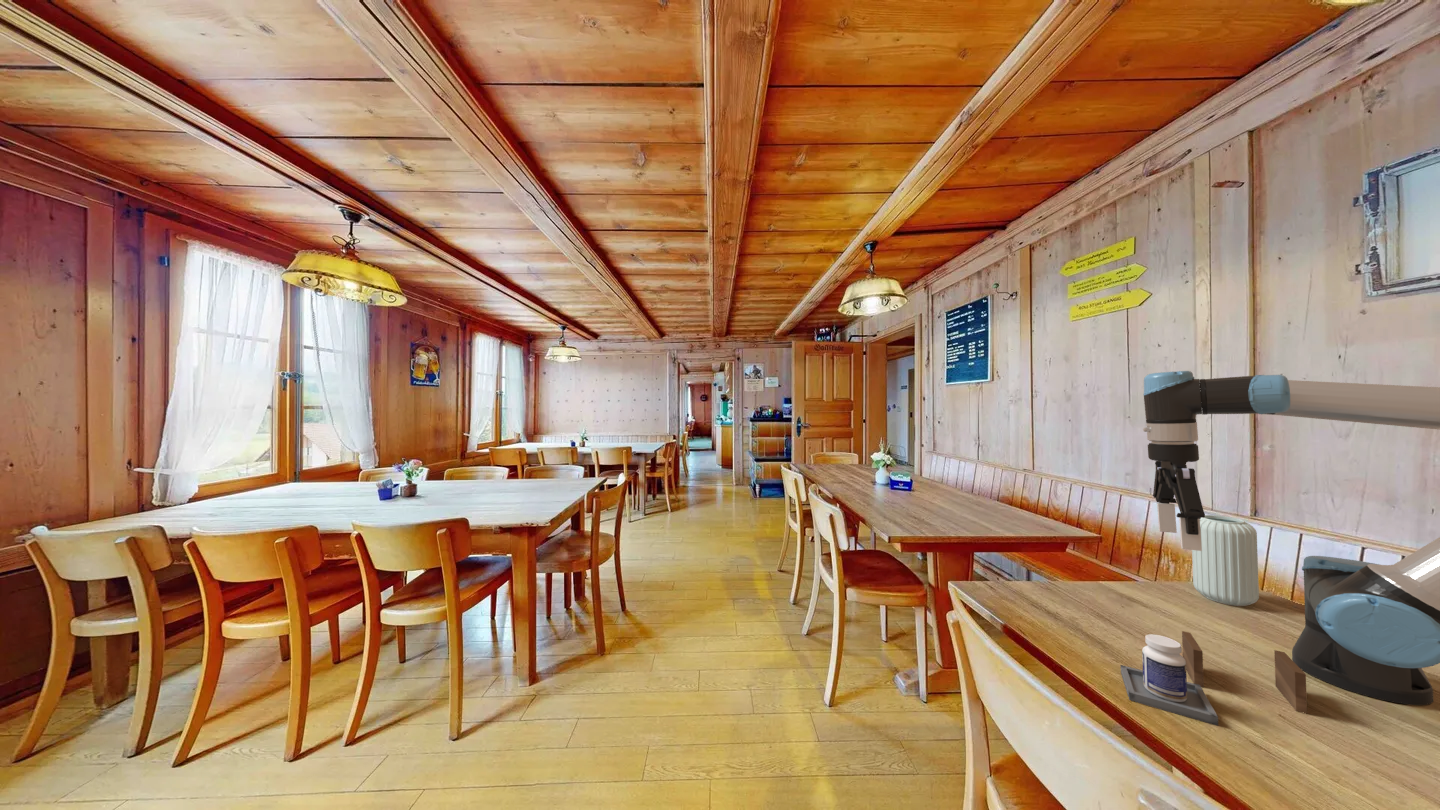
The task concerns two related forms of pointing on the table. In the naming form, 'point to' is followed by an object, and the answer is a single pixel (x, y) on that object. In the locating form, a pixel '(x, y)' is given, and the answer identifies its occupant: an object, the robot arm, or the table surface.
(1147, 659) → the pill bottle
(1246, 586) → the vase
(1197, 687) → the tray
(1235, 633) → the table surface
